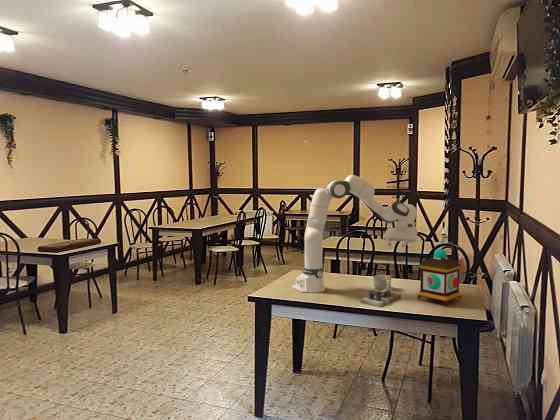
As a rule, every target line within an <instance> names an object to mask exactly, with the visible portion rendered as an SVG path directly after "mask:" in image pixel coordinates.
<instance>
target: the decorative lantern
mask: <svg viewBox="0 0 560 420" xmlns="http://www.w3.org/2000/svg"><path fill="white" fill-rule="evenodd" d="M418 266H419V269H420V290H419V292H418V294H417V300H418V301H419V302H420V301H421V300H422V298H426V299H430V300H434V301H439V302H443V305H444V307H445V308H447V307H448V303H449V302H451V301H453V300H456V299H457V301H458V302H461V301H462V294H461V292H460V289H459V288H460V286H459V285H460V269H461V268H462V264H461V263H459V262H458V261H455V260H453V259H451V258H450V256H448V253H447V252H446V250H445V249H443V248H441V247H440V248H438V249H436V250H435V251H434V252H433V256H431V258H429V259H427V260H424V261H423V262H420V263H419V265H418Z"/></svg>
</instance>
